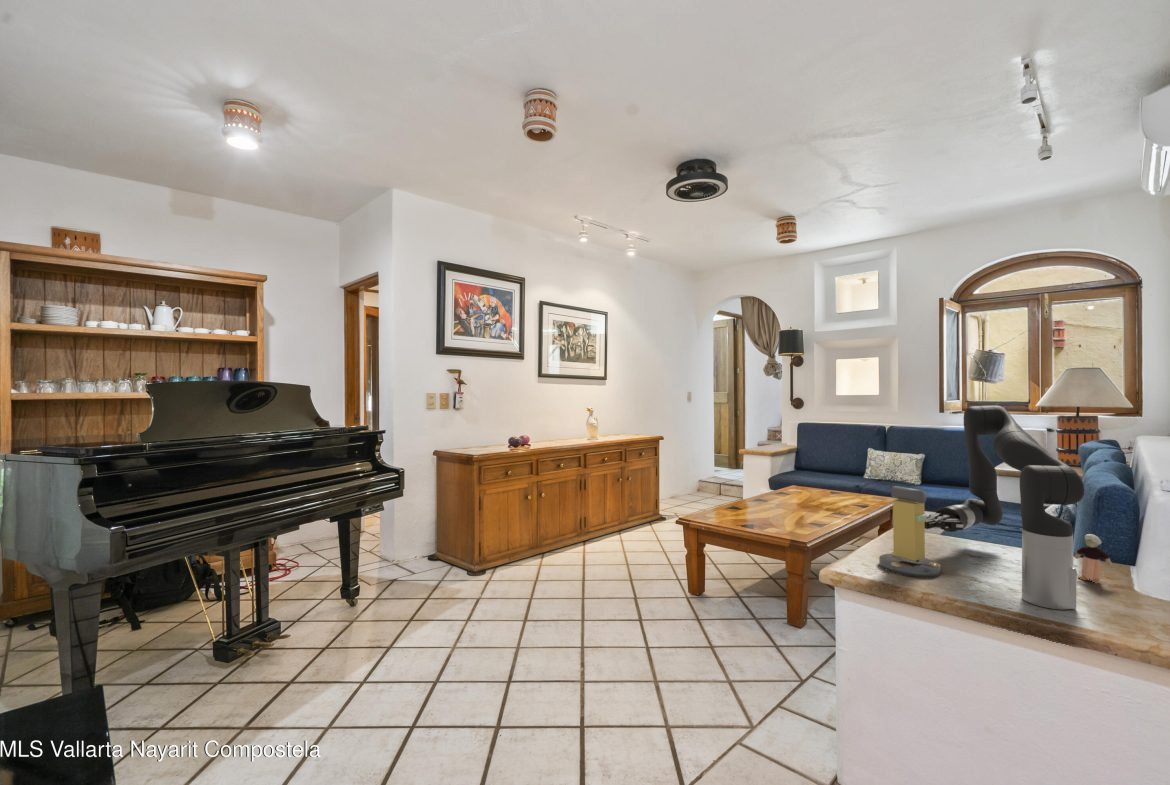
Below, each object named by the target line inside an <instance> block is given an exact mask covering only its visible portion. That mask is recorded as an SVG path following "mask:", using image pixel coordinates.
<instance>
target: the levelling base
mask: <svg viewBox="0 0 1170 785" xmlns="http://www.w3.org/2000/svg"><path fill="white" fill-rule="evenodd" d="M878 560H879V561H878V562H879V567H880V566H881V567H880V568H882V567H883V568H884V569H883V568H882V569H883V570H885V569H887V570H889V571H892V572H895V573H894V574H896V573H899V574H902V575H901V576H904V575H906V576H905V577H909V576H912V577H911V578H918V577H924V578H923V579H927V578H926V577H932V578H936V576H937V577H939V576H940V575H941V563H938V562H937V561H935V560H933V559H929V558H926V557H925V558H923V559H920V560H919V562H916V561H912V560H908V559H905V558H901V557H899V556H895V555H894V551H892V552H891V553H883V554H881V555H880V556H879V557H878ZM887 570H886V571H887ZM889 571H888V572H889ZM892 572H891V573H892ZM899 574H898V575H899Z"/></svg>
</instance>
